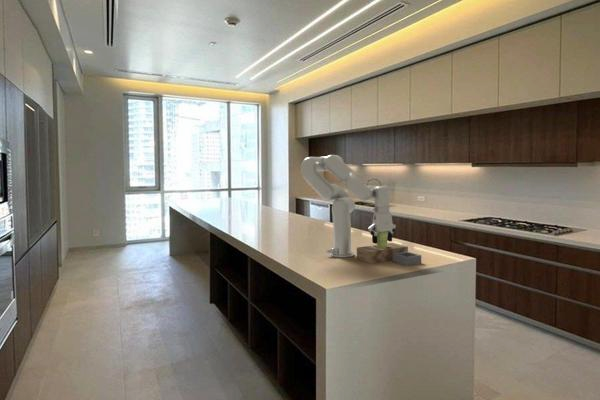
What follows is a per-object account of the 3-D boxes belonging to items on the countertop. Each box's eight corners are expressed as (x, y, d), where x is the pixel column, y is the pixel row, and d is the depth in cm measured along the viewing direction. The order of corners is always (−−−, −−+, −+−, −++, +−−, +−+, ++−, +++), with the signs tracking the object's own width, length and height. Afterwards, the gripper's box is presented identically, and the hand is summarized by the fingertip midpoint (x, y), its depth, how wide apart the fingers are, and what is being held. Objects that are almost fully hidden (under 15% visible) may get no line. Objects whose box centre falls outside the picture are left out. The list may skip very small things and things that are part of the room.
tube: (380, 256, 202) (380, 220, 201) (388, 257, 199) (389, 221, 197) (374, 258, 198) (374, 221, 197) (383, 259, 195) (383, 222, 193)
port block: (370, 263, 188) (370, 251, 187) (356, 258, 198) (356, 247, 198) (407, 257, 198) (407, 246, 197) (392, 253, 209) (392, 242, 208)
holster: (406, 265, 182) (406, 257, 182) (392, 261, 191) (392, 253, 191) (421, 263, 186) (421, 255, 186) (406, 259, 195) (406, 251, 195)
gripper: (372, 211, 189) (373, 245, 190) (399, 209, 197) (400, 241, 198) (364, 210, 196) (364, 242, 197) (390, 208, 203) (390, 239, 205)
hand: (382, 242), depth 198 cm, fingers open, 9 cm apart
